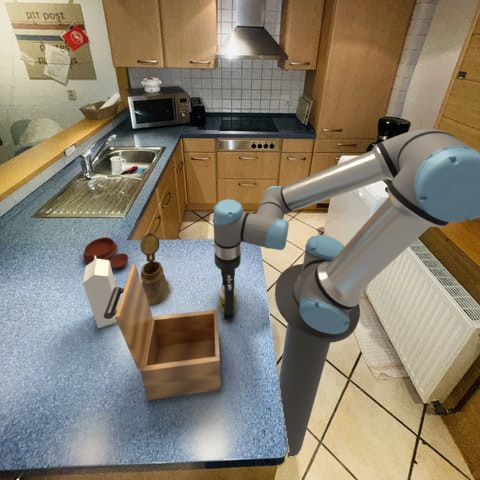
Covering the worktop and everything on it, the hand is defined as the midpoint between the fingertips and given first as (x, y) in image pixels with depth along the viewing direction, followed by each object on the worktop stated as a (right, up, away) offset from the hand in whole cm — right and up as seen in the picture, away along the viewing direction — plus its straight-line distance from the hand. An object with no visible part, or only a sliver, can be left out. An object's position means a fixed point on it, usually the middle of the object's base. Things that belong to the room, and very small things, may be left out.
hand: (227, 305), depth 80 cm
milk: (-36, -1, -3) cm, 36 cm away
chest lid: (-18, +12, -25) cm, 33 cm away
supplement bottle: (0, 0, 0) cm, 0 cm away
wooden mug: (-25, +3, +6) cm, 26 cm away
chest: (-10, -7, -15) cm, 19 cm away
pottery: (-47, +8, +17) cm, 50 cm away
